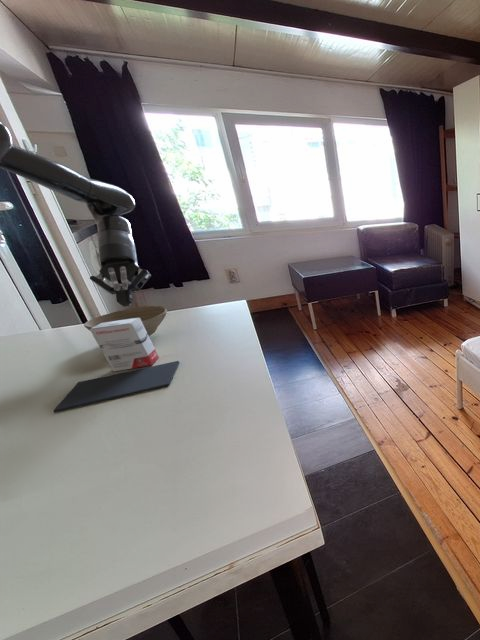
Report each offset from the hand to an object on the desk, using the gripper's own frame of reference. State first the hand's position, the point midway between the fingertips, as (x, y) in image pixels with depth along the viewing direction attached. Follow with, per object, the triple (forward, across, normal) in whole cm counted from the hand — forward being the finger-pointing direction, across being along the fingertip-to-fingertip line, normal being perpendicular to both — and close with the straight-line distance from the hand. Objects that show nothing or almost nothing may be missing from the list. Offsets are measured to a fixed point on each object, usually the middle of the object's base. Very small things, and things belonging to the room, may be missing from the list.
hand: (125, 304), depth 97 cm
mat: (+25, 0, -6) cm, 26 cm away
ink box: (+17, 0, +2) cm, 17 cm away
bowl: (+3, -4, +16) cm, 17 cm away
